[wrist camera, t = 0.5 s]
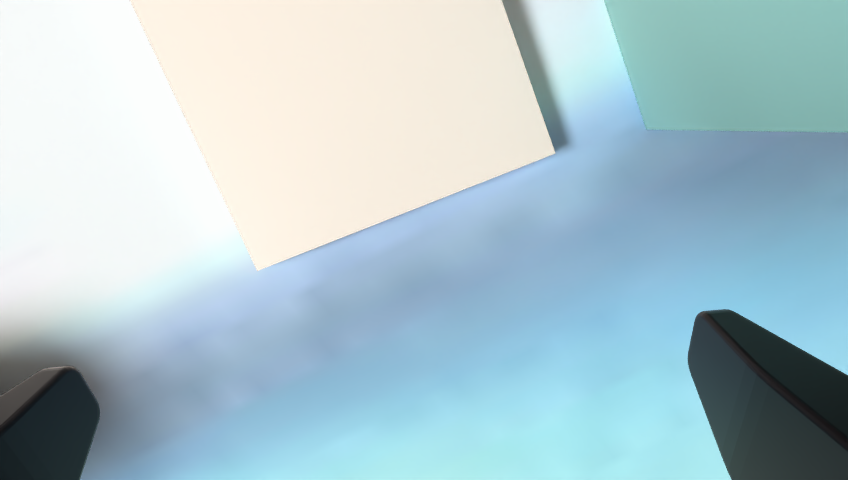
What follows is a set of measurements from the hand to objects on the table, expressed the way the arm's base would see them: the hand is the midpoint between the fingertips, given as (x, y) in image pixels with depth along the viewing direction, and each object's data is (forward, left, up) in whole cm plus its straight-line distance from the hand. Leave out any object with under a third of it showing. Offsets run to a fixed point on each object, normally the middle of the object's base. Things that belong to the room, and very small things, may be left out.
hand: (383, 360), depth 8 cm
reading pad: (+6, 0, -14) cm, 15 cm away
